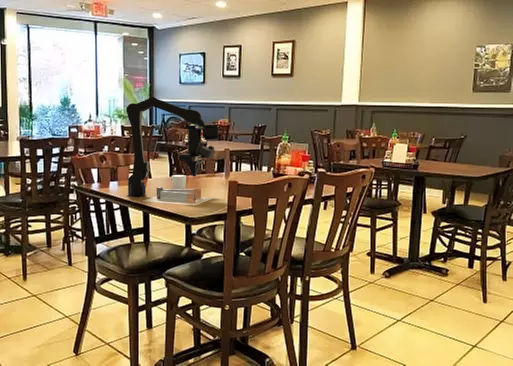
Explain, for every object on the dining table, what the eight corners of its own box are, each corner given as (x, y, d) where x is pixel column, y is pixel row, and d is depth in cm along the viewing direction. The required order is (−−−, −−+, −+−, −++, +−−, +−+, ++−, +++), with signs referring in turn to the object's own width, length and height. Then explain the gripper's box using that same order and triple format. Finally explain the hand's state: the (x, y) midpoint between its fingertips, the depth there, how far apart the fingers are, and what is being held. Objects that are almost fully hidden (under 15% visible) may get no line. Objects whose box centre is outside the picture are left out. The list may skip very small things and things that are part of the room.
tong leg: (156, 198, 214) (156, 188, 213) (156, 197, 216) (156, 187, 216) (200, 198, 217) (201, 187, 217) (200, 197, 220) (200, 186, 219)
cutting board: (141, 202, 209) (141, 200, 209) (163, 195, 226) (163, 194, 226) (195, 206, 201) (195, 205, 201) (213, 199, 218) (213, 198, 218)
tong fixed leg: (160, 200, 211) (160, 191, 211) (162, 199, 213) (162, 190, 213) (193, 202, 207) (193, 193, 206) (195, 201, 209) (195, 193, 208)
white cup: (175, 191, 237) (175, 176, 236) (169, 190, 243) (168, 175, 242) (189, 190, 241) (189, 175, 240) (182, 188, 247) (182, 174, 246)
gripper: (202, 141, 209) (202, 179, 211) (220, 139, 227) (220, 175, 229) (177, 140, 213) (177, 178, 215) (197, 138, 230) (197, 173, 232)
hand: (194, 176), depth 223 cm, fingers closed
